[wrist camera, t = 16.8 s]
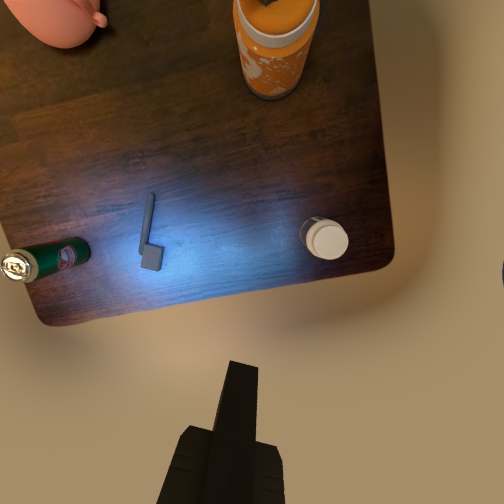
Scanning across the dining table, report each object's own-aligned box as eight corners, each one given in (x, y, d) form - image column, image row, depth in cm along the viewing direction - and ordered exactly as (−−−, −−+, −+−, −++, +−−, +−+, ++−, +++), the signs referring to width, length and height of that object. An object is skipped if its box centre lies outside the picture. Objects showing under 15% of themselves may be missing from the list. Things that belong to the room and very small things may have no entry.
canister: (232, 56, 38) (199, -92, 19) (298, 15, 37) (338, -193, 17) (259, 113, 40) (254, 30, 20) (324, 75, 38) (386, -53, 19)
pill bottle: (306, 254, 44) (318, 269, 34) (294, 224, 43) (302, 232, 33) (337, 241, 43) (358, 253, 34) (325, 210, 42) (343, 214, 33)
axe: (149, 192, 43) (146, 192, 42) (173, 198, 43) (170, 198, 42) (138, 264, 46) (135, 265, 45) (160, 269, 46) (157, 271, 45)
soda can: (89, 266, 47) (30, 289, 35) (63, 259, 47) (-5, 279, 35) (93, 241, 46) (33, 255, 34) (66, 233, 46) (-3, 245, 34)
